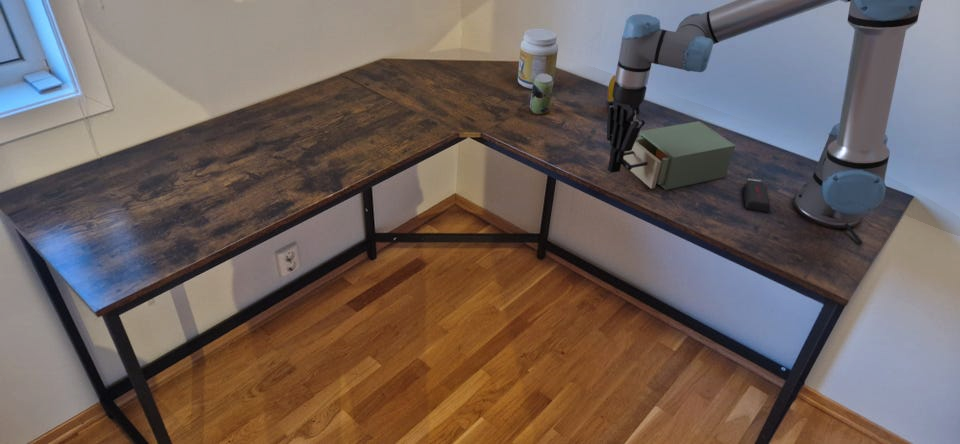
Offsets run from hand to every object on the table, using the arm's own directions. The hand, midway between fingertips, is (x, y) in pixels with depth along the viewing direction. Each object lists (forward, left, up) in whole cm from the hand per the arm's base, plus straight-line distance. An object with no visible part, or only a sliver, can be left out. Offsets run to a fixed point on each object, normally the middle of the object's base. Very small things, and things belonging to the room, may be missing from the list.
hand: (613, 170), depth 166 cm
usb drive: (-18, -32, -4) cm, 37 cm away
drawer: (0, -14, -3) cm, 14 cm away
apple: (+34, -26, -4) cm, 43 cm away
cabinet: (0, -22, -4) cm, 22 cm away
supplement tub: (+63, -11, -4) cm, 64 cm away
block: (0, -17, -2) cm, 17 cm away
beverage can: (+43, -2, -4) cm, 43 cm away
